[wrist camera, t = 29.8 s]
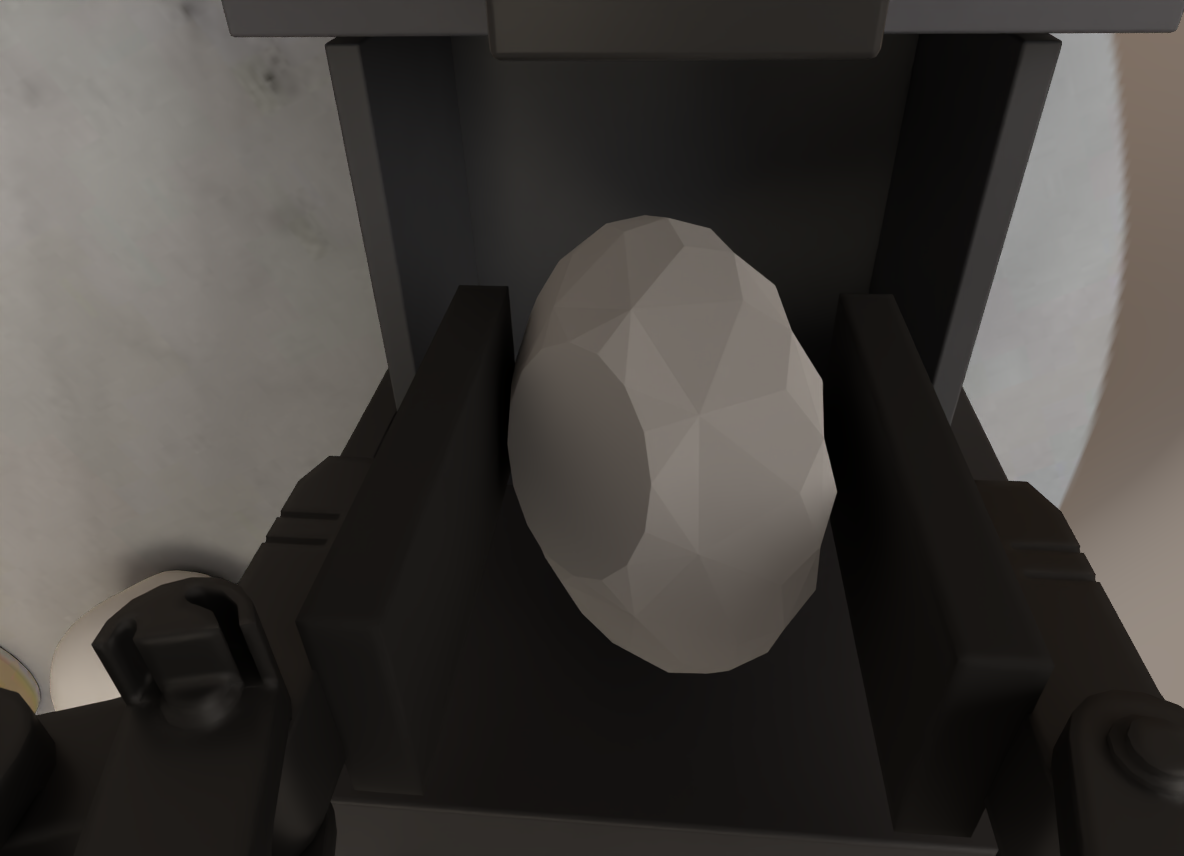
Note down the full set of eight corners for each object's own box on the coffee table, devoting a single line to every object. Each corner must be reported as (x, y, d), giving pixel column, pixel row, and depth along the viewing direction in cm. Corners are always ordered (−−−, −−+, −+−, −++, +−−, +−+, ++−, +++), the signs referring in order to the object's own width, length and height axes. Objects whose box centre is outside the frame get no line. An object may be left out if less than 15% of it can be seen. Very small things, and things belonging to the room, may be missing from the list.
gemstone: (897, 682, 13) (661, 811, 10) (653, 472, 17) (432, 519, 14) (1095, 320, 10) (846, 349, 7) (744, 170, 14) (490, 147, 11)
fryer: (433, 281, 25) (147, 804, 11) (917, 292, 23) (1211, 889, 10) (481, 601, 33) (346, 1116, 20) (840, 622, 32) (948, 1183, 19)
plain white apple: (143, 648, 37) (29, 823, 30) (94, 532, 32) (-52, 707, 26) (297, 664, 36) (214, 845, 30) (267, 550, 32) (163, 732, 26)
